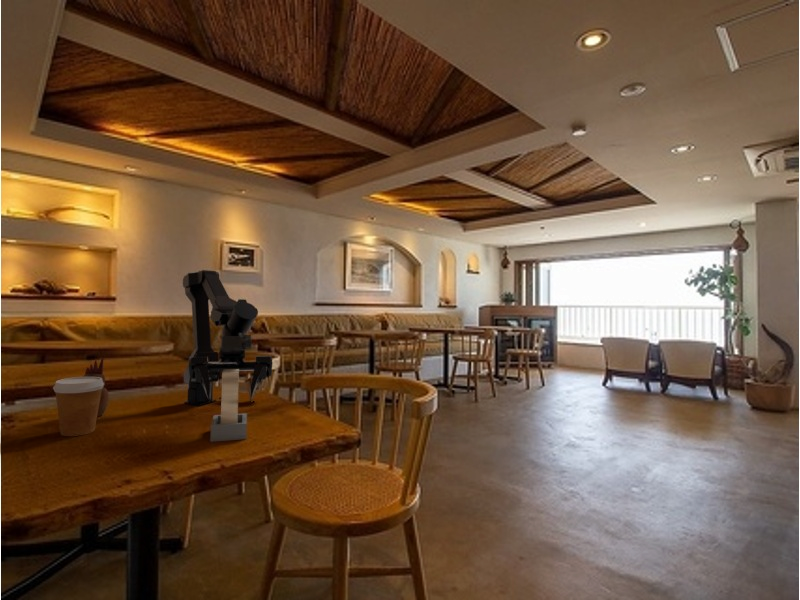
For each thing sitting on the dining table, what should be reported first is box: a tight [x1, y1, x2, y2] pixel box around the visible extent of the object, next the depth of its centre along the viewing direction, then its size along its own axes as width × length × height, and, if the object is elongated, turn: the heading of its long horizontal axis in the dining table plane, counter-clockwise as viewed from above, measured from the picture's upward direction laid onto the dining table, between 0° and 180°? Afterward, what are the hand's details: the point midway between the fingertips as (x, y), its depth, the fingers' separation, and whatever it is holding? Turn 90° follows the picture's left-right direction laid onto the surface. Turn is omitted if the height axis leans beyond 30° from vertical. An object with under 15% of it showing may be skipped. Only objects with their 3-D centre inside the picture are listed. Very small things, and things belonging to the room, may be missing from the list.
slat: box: [220, 369, 240, 424], centre depth 100 cm, size 5×4×14 cm
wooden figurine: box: [82, 358, 110, 418], centre depth 111 cm, size 7×6×15 cm
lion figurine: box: [218, 375, 269, 402], centre depth 132 cm, size 15×5×9 cm, turn 95°
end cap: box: [209, 412, 248, 442], centre depth 100 cm, size 9×8×4 cm
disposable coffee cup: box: [52, 376, 105, 437], centre depth 99 cm, size 10×10×12 cm
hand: (230, 396), depth 99 cm, fingers open, 9 cm apart
